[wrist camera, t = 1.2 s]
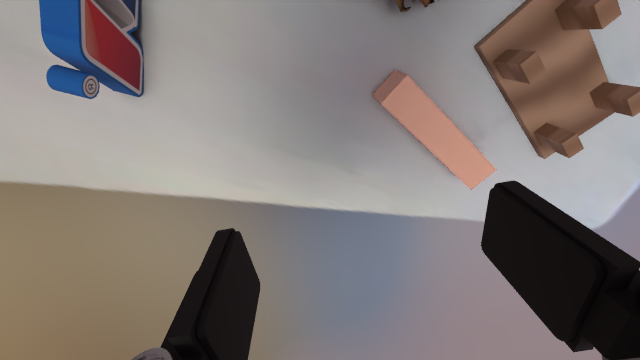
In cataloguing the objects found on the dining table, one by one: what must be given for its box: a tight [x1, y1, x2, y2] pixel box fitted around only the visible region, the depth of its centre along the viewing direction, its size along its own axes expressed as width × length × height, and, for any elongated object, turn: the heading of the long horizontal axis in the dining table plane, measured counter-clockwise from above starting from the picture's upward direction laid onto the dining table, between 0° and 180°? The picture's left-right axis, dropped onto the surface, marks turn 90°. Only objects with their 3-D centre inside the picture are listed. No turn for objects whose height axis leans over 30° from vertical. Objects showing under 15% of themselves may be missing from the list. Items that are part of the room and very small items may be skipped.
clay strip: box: [372, 70, 496, 190], centre depth 30 cm, size 16×4×4 cm, turn 50°
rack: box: [474, 0, 640, 159], centre depth 28 cm, size 18×9×5 cm, turn 44°
